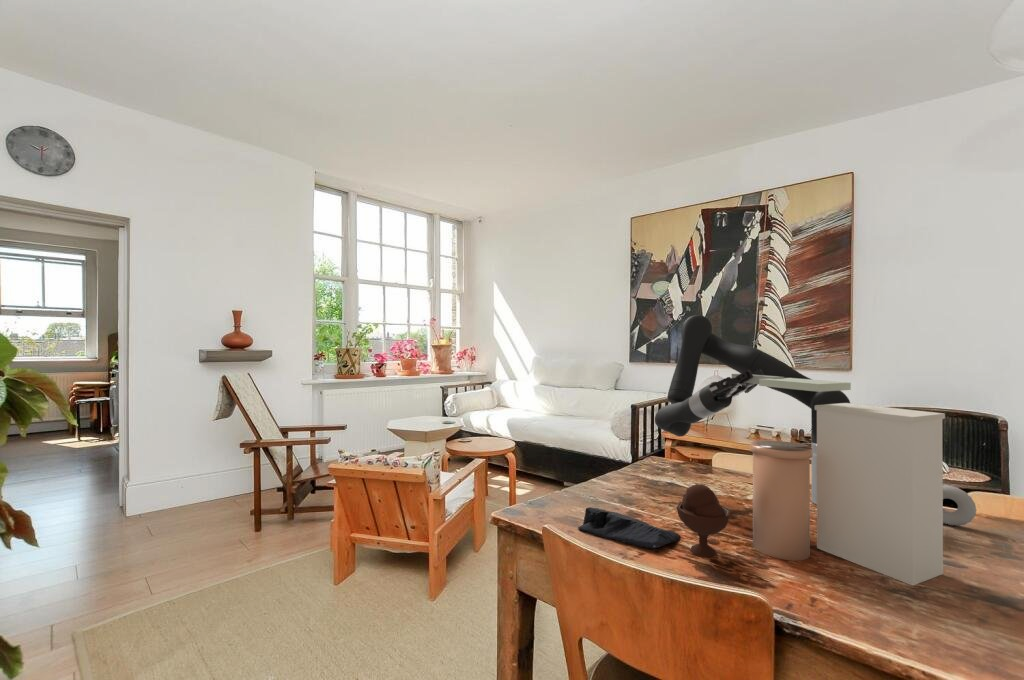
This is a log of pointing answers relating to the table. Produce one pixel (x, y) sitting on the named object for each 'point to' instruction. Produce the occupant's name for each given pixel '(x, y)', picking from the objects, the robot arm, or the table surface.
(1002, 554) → the table surface
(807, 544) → the terracotta pot
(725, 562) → the table surface
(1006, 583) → the table surface
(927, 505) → the upright grey panel box
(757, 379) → the cover
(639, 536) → the black flat lumpy piece
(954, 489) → the donut
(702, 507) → the ice cream bowl
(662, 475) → the table surface
